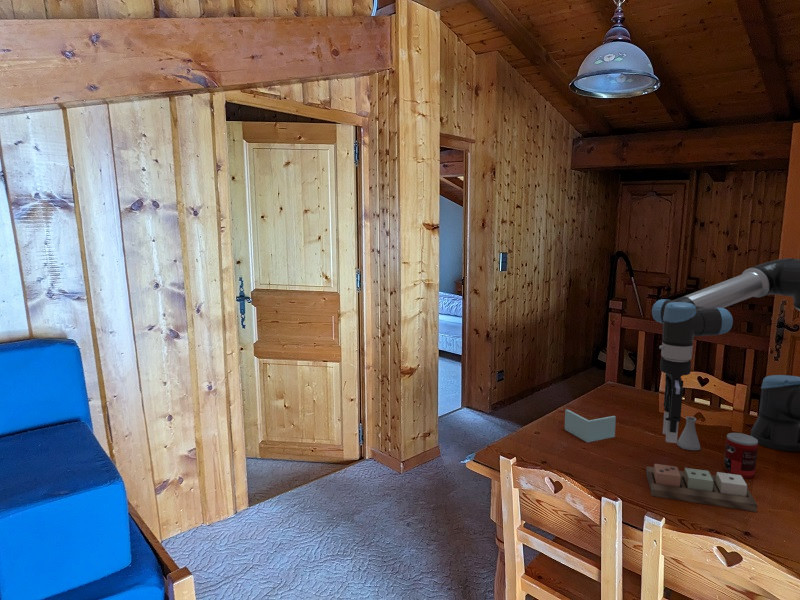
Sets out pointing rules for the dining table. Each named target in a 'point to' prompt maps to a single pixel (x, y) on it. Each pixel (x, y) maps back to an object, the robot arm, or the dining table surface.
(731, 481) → the tile one
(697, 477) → the tile two
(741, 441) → the canned food
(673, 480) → the tile three
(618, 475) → the dining table surface
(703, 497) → the button board
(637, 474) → the dining table surface
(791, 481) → the dining table surface
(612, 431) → the right angle wall
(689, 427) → the flask
